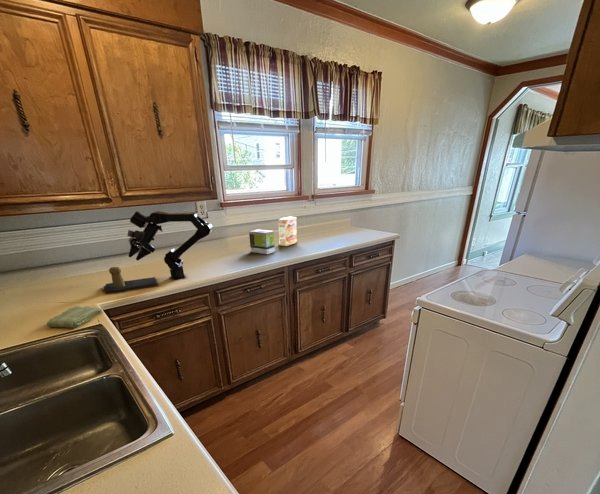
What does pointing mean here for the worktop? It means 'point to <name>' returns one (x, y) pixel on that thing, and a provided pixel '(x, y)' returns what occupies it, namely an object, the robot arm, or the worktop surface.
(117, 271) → the cork
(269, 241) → the tea box
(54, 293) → the worktop surface
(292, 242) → the coffeecake box
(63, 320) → the washcloth
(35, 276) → the worktop surface
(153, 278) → the socket pad
